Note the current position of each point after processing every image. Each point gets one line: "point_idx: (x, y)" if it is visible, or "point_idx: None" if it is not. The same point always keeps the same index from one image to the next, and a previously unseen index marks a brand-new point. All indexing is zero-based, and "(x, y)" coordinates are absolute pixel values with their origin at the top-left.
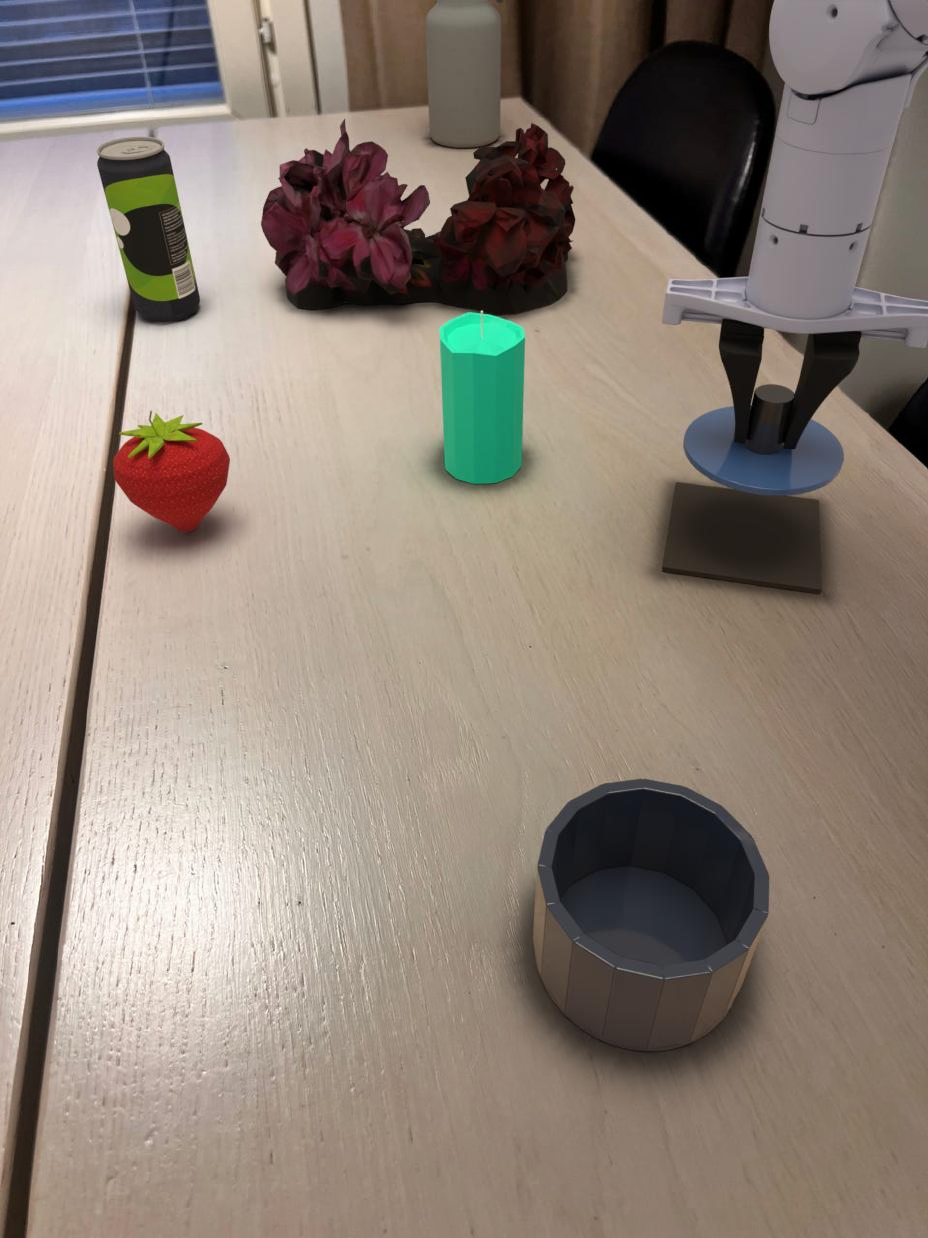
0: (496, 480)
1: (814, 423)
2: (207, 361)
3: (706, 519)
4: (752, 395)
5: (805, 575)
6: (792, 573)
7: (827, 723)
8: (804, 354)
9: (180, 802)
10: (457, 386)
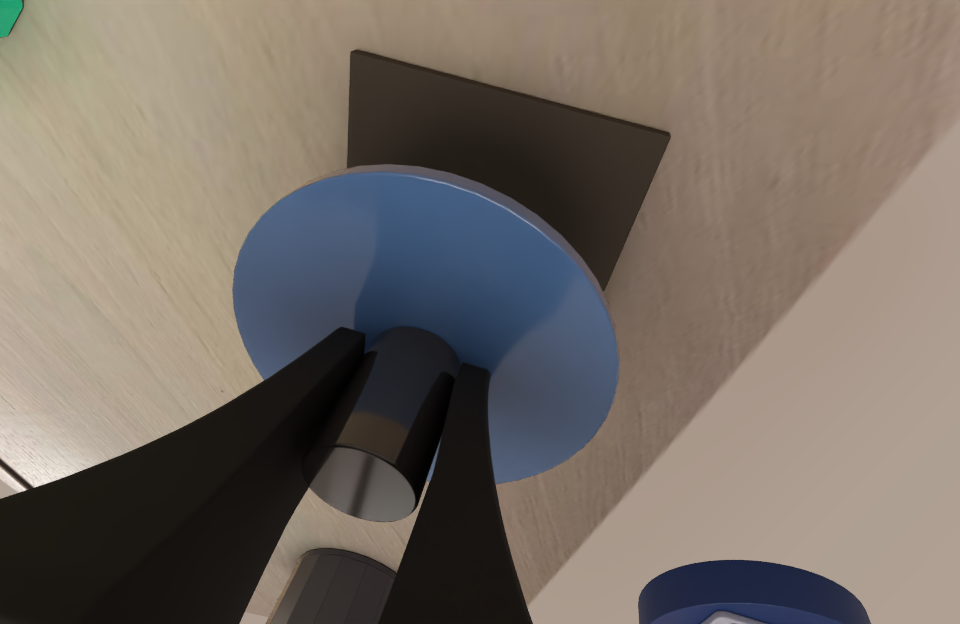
0: (3, 35)
1: (580, 292)
2: None
3: None
4: (278, 540)
5: None
6: None
7: (513, 504)
8: (406, 547)
9: (58, 470)
10: None
